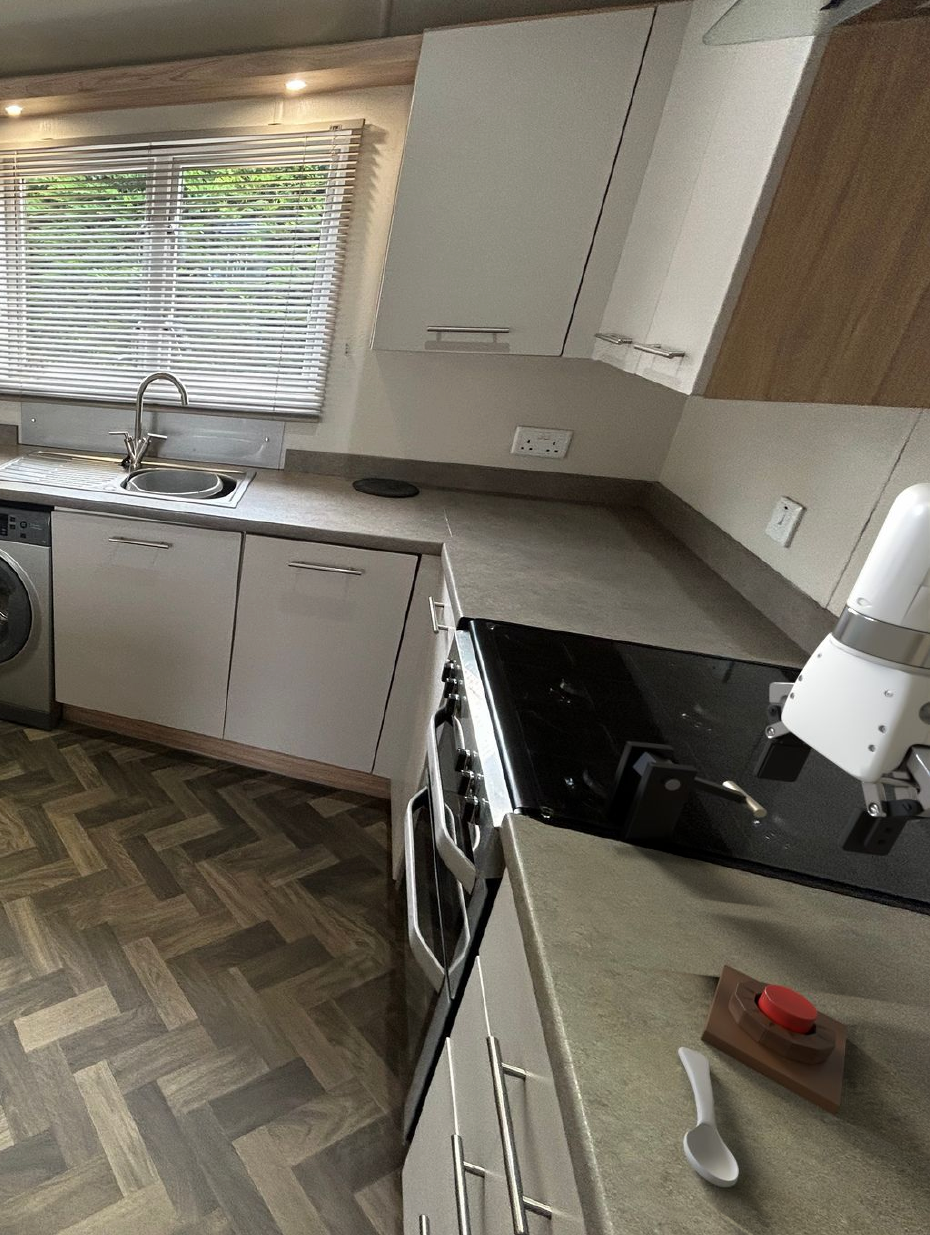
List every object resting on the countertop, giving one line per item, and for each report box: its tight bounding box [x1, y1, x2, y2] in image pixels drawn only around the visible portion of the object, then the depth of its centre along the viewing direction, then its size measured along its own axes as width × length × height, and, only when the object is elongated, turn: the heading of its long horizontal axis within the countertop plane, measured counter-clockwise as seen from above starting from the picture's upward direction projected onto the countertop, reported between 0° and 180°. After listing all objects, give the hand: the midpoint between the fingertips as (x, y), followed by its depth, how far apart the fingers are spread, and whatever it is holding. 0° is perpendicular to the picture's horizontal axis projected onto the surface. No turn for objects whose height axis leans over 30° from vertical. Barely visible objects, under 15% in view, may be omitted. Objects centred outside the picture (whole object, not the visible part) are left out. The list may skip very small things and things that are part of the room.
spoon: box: [678, 1046, 740, 1188], centre depth 54 cm, size 3×12×2 cm, turn 144°
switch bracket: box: [600, 740, 699, 847], centre depth 81 cm, size 11×9×12 cm
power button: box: [758, 984, 818, 1034], centre depth 59 cm, size 3×3×2 cm
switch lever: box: [633, 751, 768, 819], centre depth 79 cm, size 12×5×2 cm, turn 80°
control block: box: [700, 963, 848, 1116], centre depth 60 cm, size 10×8×3 cm
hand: (813, 812), depth 62 cm, fingers open, 9 cm apart
